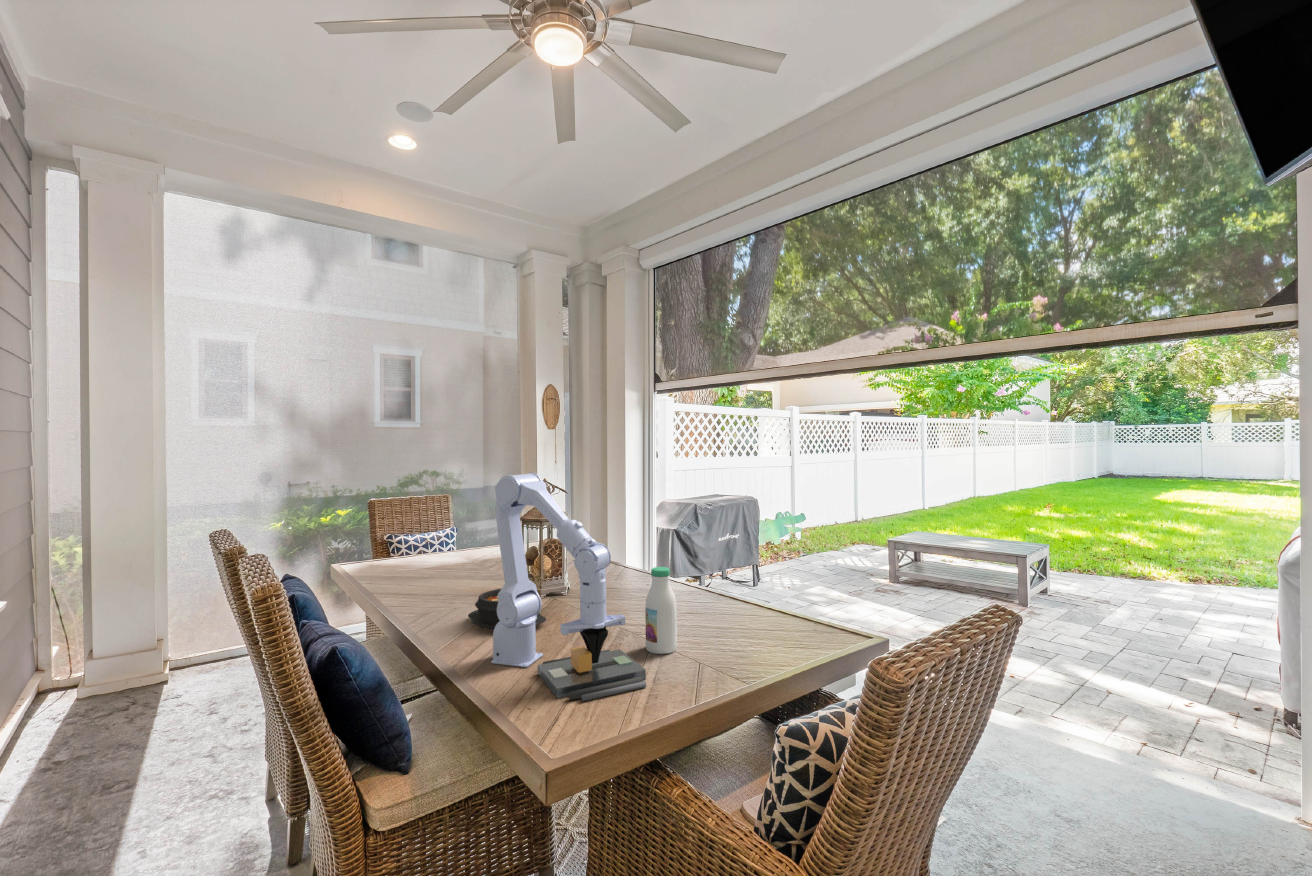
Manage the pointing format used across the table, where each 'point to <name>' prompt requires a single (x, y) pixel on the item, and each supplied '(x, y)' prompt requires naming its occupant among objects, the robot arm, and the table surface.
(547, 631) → the table surface
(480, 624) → the casserole
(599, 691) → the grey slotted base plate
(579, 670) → the lever
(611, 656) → the grey flat slab
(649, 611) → the milk bottle
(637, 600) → the table surface
